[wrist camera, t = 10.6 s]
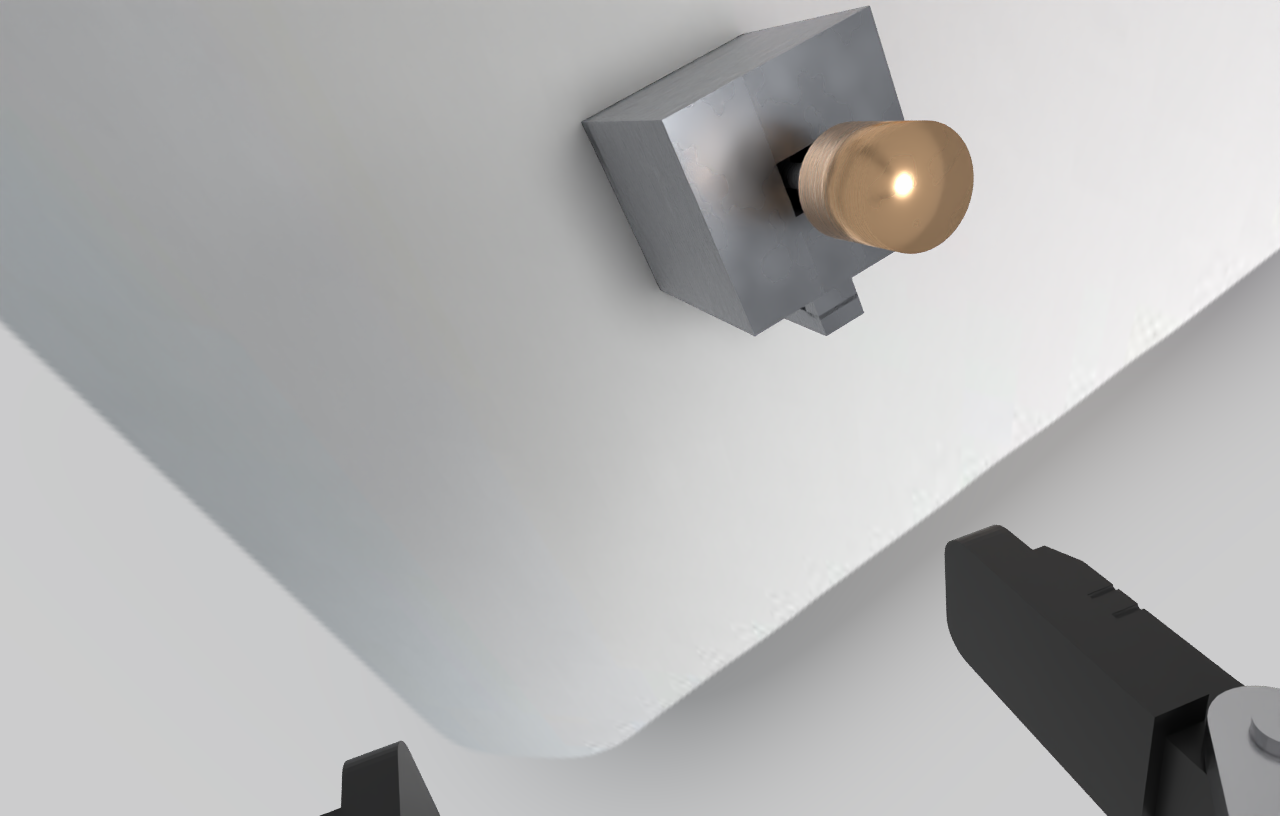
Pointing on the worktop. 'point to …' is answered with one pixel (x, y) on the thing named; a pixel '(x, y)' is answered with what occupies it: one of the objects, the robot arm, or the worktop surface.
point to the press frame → (747, 170)
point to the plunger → (884, 183)
